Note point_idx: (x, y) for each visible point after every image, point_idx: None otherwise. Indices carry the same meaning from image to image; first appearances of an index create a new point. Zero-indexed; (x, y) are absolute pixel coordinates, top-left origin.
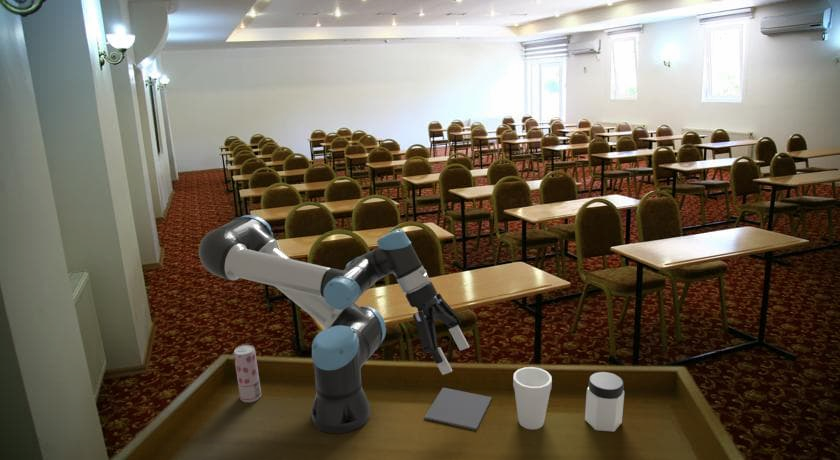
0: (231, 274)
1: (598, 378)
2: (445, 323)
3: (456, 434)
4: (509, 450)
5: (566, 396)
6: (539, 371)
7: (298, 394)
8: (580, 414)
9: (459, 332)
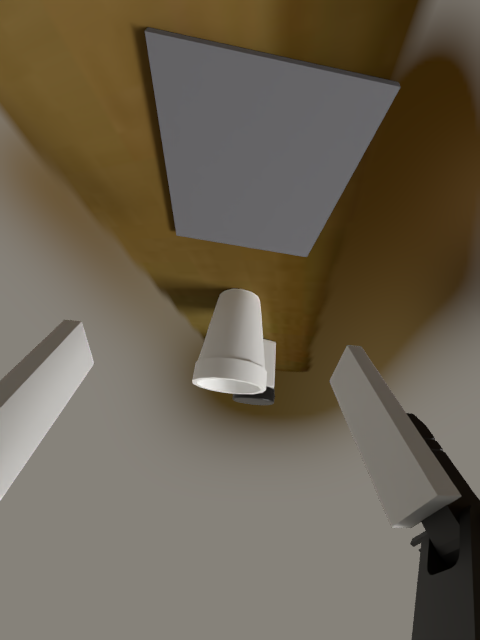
0: None
1: (256, 400)
2: (468, 602)
3: (137, 188)
4: (153, 277)
5: (310, 330)
6: (257, 387)
7: None
8: (268, 334)
9: (368, 467)
